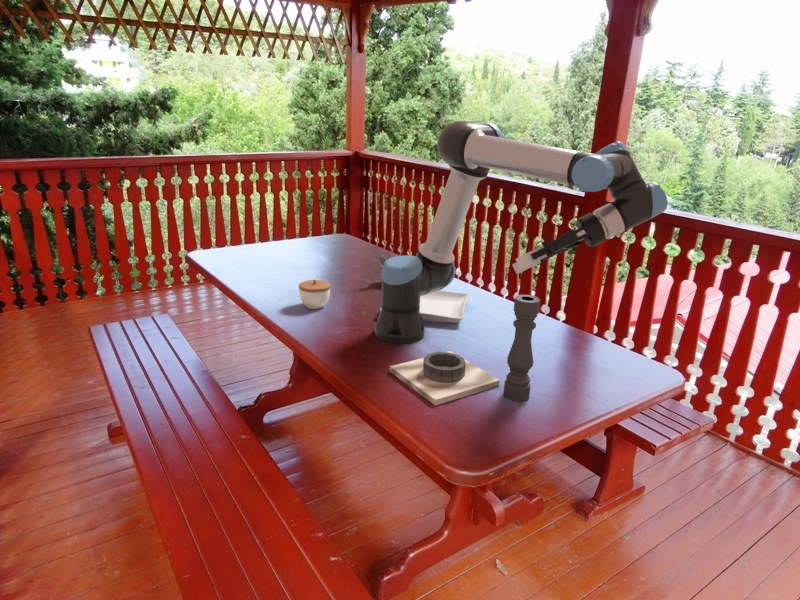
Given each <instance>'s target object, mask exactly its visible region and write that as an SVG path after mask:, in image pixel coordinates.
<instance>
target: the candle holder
mask: <svg viewBox="0 0 800 600" xmlns="http://www.w3.org/2000/svg"><path fill="white" fill-rule="evenodd" d="M513 303H514V304H513V312H514V317H515V319H514V321H513V322H512V324H513V326H514V328H515V331H514V339H513V342H512V344H511V347H510V350H509V353H508V355H507V361H506V362H507V365H508V367H509V373H508V374H506V376H505V378H506V379H505V380H504V384H503V392H502V393H503V397H504V398H505V399H506V400H508V401H510V402H512V403H513V402H515V403H524V402H528V400H530V395H531V394H530V392H531V383H530V382H531V378H530V376H529V373H530V370H531V369H532V367H533V366H534V355H533V347H532V346H533V345H532V337H533V336H532V335H533V331H534V330H535V329H536V327H537V323H536V322H535V320H536V318H537V317H538V314H539V313H540V308H541V307H540V305H541V299H540V298H539V297H538V296H535V295H532V294H518V295H515V296H514V301H513Z"/></svg>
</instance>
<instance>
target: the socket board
mask: <svg viewBox="0 0 800 600" xmlns="http://www.w3.org/2000/svg"><path fill="white" fill-rule="evenodd" d="M389 373H391V374H392V375H394V376H395V378H398V379H399V380H400V381H401V382H403V383H404V384H406V385H408V386H409V388H411V389H412V390H414V391H415V392H416V393H418V394H419V395H420V396H422V398H425V400H426V401H428V402H430V403H431V404H432V405H434V406H435V407H436V406H439V405H441V404H445V403H448V402H451V401H455V400H458V399H461V398H464V397H467V396H470V395H474V394H476V393H480V392H482V391H486V390H489V389H493V388H496V387H499V386H500V379H498V378H497V377H495V376H493V375H492V374H490V373H489V372H487V371H485V370H483V369H481V368H480V367H478V366H476V365H475V364H473V363H471V362H470V361H468V360H467V359H465V358H464V357H462V356H460V355H459V354H456V353H455V352H453V351H451V350H448V351H435V352H432V353H431V352H430V353H428V354H426V356H424V357H422V358H421V357H420V358H418V359H414V360H409V361H406V362H403V363H402V362H401V363H398V364H394V365H390V366H389Z"/></svg>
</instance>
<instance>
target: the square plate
mask: <svg viewBox="0 0 800 600" xmlns="http://www.w3.org/2000/svg"><path fill="white" fill-rule="evenodd" d="M469 298H470V294H469V293H464V292H463V293H462V292H456V291H455V292H454V291H447V290H442V289H441V290H438V291H435V292H432V293H429V294H426V295H424V296H421V297H420V314H421V317H422V321H428V322H435V323H453V324H454V323H459V322H460V321H462V320H463V319H464V315H465V311H466V310H465V309H466V305H467V304H468V303H467V302H468V301H469ZM380 311H381V307H380V309H379V312H380Z"/></svg>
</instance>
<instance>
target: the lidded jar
mask: <svg viewBox="0 0 800 600" xmlns="http://www.w3.org/2000/svg"><path fill="white" fill-rule="evenodd" d="M331 287H332V285H331V283H330V282H328V281H327V280H321V279H310V280H309V279H308V280H303V281H301V282H300V283H299V284H298V290H299V291H298V293H299V297H300V300H301V302H302V303H303V304H304V306H306V308H308V309H311V310H318V309H323V308H324V307H325V305H326V304H327V303H328V302H329V299H330V297H331Z"/></svg>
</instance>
